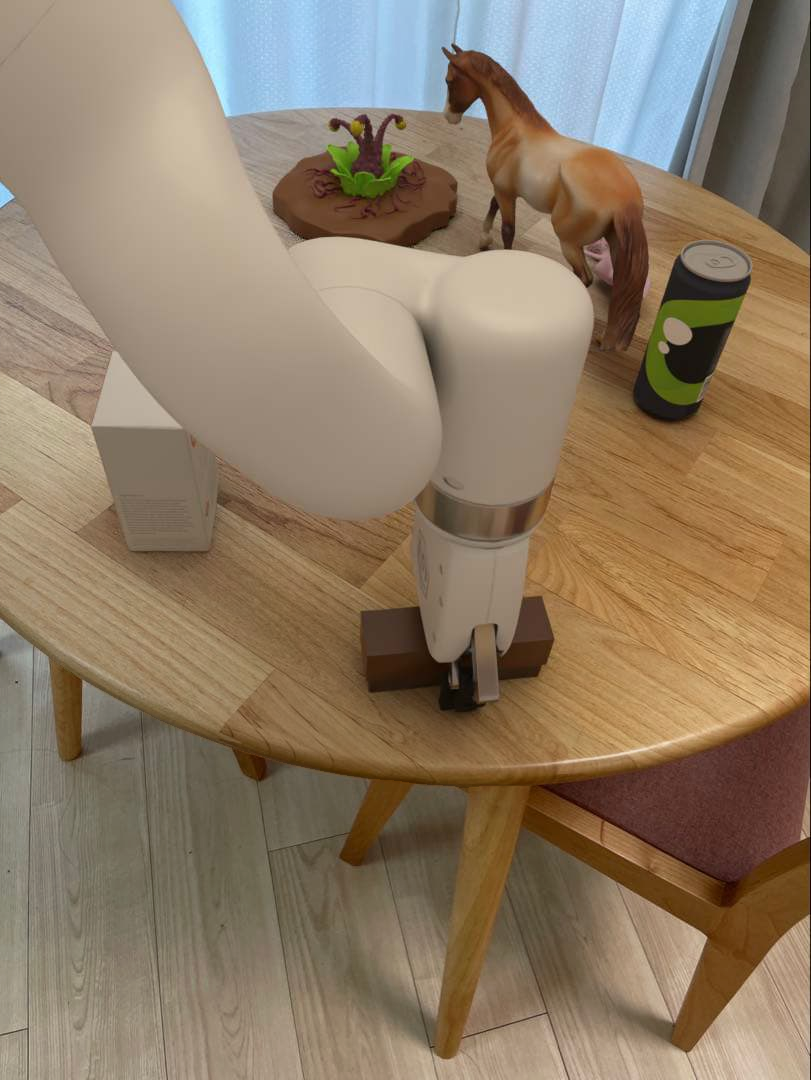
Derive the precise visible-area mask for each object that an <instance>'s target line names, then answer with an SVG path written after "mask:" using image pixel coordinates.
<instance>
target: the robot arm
mask: <svg viewBox="0 0 811 1080" xmlns="http://www.w3.org/2000/svg"><path fill="white" fill-rule="evenodd" d="M0 184H1V185H3V186H4V187H5V189H6V190H7V191H9V192H10V194H11V195H12V196H13V197H14V198H15V200H17V202H18V203H19V204H20V206H21V207H22V208H23V210H24V212H25V213H26V215H27V216H28V218H29V219H30V220H31V222H32V224H33V226H34V227H35V229H36V231H37V233H38V235H39V236H40V238H41V240H42V242H43V244H44V246H45V247H46V249H47V250H48V252H49V255H50V256H51V258H52V260H53V261H54V262H55V264H56V266H57V267H58V269H59V270H60V272H61V273H62V275H63V276H64V278H65V279H66V280H67V282H68V283H69V285H70V286H71V288H72V290H73V291H74V292H75V294H76V295H77V297H78V298H79V299H80V300H81V302H82V304H83V305H84V306H85V308H86V309H87V310H88V312H89V313H90V315H91V316H92V317H93V319H94V320H95V322H96V323H97V325H99V328H100V329H101V330H102V332H103V334H104V336H106V337H107V340H108V341H109V342H110V344H111V345H112V347H113V348H114V349H115V351H117V352H118V354H119V355H120V356H121V358H122V359H123V361H124V362H125V363H126V365H127V366H128V367H129V368H130V370H131V371H132V372H133V374H134V375H135V376H136V378H137V379H138V380H139V382H140V383H141V384H142V385H143V386H144V388H145V389H146V390H147V391H148V392H149V393H150V394H151V396H152V397H153V398H154V399H155V400H156V401H157V403H158V404H159V405H160V406H161V407H162V408H163V409H164V410H165V411H166V412H167V413H168V414H169V415H170V416H171V417H172V418H173V419H174V420H175V421H176V422H177V423H178V424H179V425H180V426H182V427H183V428H184V429H185V430H186V431H187V432H188V433H190V434H191V435H192V436H193V437H194V438H195V439H197V440H198V441H199V442H200V443H202V444H203V445H204V446H205V447H207V448H208V449H209V450H211V451H212V452H213V453H215V454H216V457H219V458H220V459H222V460H223V461H224V462H225V463H227V464H228V465H229V466H230V467H232V468H233V469H235V470H236V471H238V473H240V474H241V475H243V476H244V477H245V478H247V479H248V480H250V481H251V482H253V483H254V484H255V485H257V486H258V487H260V488H261V489H262V490H264V491H266V492H267V493H268V494H270V495H272V497H276V498H277V499H279V500H280V501H282V502H284V503H286V504H288V505H290V506H292V507H294V508H296V509H298V510H299V511H303V512H306V513H309V514H311V515H314V516H317V517H322V518H326V519H331V520H335V521H347V522H355V521H369V520H375V519H378V518H382V517H386V516H388V515H390V514H393V513H394V512H397V511H399V510H401V509H402V508H404V507H405V506H407V505H408V504H410V503H411V502H413V506H414V513H413V514H414V516H413V521H412V528H411V536H410V542H409V543H410V544H409V545H410V546H409V550H410V561H411V567H412V573H413V574H412V575H413V579H414V584H415V591H416V595H417V601H418V606H419V607H420V612H421V617H422V622H423V627H424V632H425V636H426V641H427V645H428V649H429V652H430V654H431V656H432V657H433V658H434V659H435V660H436V661H437V662H439V663H445V662H448V671H446V672H445V673H443V675H442V682H441V686H440V689H439V695H438V701H437V703H438V708H439V710H440V711H441V712H447V711H455V712H456V713H459V714H462V713H471V712H474V711H476V710H477V709H479V708H483V707H485V706H486V705H487V704H490V703H491V704H492V703H499V702H500V686H499V684H500V683H499V680H498V670H497V656H496V654H499V656H500V657H502V656H503V655H504V654H505V653H506V652H507V650H508V649H509V647H510V645H511V642H512V640H513V637H514V634H515V630H516V626H517V622H518V618H519V613H520V608H521V602H522V597H524V596H523V595H524V591H525V590H524V589H525V583H526V576H527V569H528V561H529V551H530V544H531V543H530V542H531V535H532V534H533V533H535V532H536V531H537V529H539V527H540V526H541V525H542V523H543V521H544V519H545V516H546V514H547V509H548V506H549V503H550V499H551V494H552V490H553V487H554V482H555V479H556V477H557V476H556V475H557V472H558V471H557V470H558V466H559V463H560V459H561V454H562V451H563V447H564V443H565V439H566V436H567V432H568V428H569V424H570V420H571V417H572V413H573V409H574V405H575V403H576V402H575V401H576V398H577V394H578V391H579V386H580V382H581V380H582V375H583V371H584V368H585V364H586V360H587V356H588V353H589V349H590V345H591V341H592V336H593V331H594V325H595V311H594V305H593V299H592V297H591V295H590V292H589V291H588V288H586V287H585V285H584V284H583V283H582V281H581V280H580V279H579V278H578V277H577V276H576V275H575V274H574V271H572V270H571V269H569V268H567V266H564V265H563V264H562V263H560V262H558V261H556V260H554V259H552V258H549V257H547V256H544V255H541V254H538V253H535V252H530V251H525V250H520V249H519V250H517V249H512V250H504V249H491V250H486V251H485V250H484V251H481V252H477V253H474V254H471V255H467V256H460V255H452V254H445V253H438V252H433V251H428V250H422V249H416V248H413V247H412V248H411V247H402V246H397V245H392V244H387V243H382V242H377V241H371V240H365V239H359V238H349V237H322V238H316V239H311V240H308V239H306V240H304V241H302V242H299V243H297V244H294V245H293V246H291V247H289V248H287V247H286V244H285V243H284V241H283V240H282V238H281V237H280V234H278V233H279V232H277V229H276V228H275V226H274V223H273V222H272V220H271V218H270V216H269V215H268V213H267V211H266V209H265V207H264V205H263V204H262V202H261V200H260V198H259V196H258V194H257V192H256V190H255V188H254V185H253V183H252V180H251V179H250V177H249V174H248V172H247V169H246V167H245V164H244V162H243V159H242V157H241V154H240V153H239V150H238V146H237V144H236V142H235V139H234V136H233V133H232V130H231V128H230V125H229V123H228V119H227V117H226V114H225V111H224V107H223V105H222V102H221V100H220V97H219V93H218V91H217V88H216V85H215V84H214V81H213V78H212V76H211V73H210V71H209V69H208V67H207V65H206V62H205V60H204V58H203V56H202V53H201V51H200V48H199V47H198V46H197V43H196V41H195V40H194V37H193V35H192V34H191V32H190V30H189V28H188V26H187V25H186V22H185V21H184V19H183V17H182V15H181V14H180V12H179V11H178V10H177V8H176V6H175V5H174V3H173V2H172V1H171V0H0ZM462 655H472V663H473V666H464V667H460V656H462Z"/></svg>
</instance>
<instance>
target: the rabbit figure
mask: <svg viewBox="0 0 811 1080" xmlns="http://www.w3.org/2000/svg"><path fill="white" fill-rule="evenodd" d="M583 250H584V254H585V257H589V258H592V259H594V260H597V261H599V262H598V263H596V264H595V266H594V268H593V272H594V275H596V277H598V278H599V279H600V280H602V281H603V282H604V283H606V284H607V285H610V286H612V287H613V268H612V263H611V257H610V250H609V245H608V243H607V241H606V240H605V239H604V237H603V238H601V239H600V240H599V241H597V242H595V243H592V244H589V245H586V249H584V248H583ZM651 285H652V281H651V277H650V275H649V274H648V276H647V279H646V284H645V287H644V292H643V299H642V300H644V299H645V298H647V296H648V295H649V292H650V288H651Z"/></svg>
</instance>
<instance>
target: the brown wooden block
mask: <svg viewBox="0 0 811 1080" xmlns="http://www.w3.org/2000/svg"><path fill="white" fill-rule="evenodd" d="M359 622H360V623H359V625H360V626H359V627H360V629H359V640H360V649H361V655H362V663H363V669H364V670H363V671H364V678H365V682H366V683H367V689H368V693H369V694H370V693H371V694H372V693H380V692H393V691H402V690H410V689H411V690H412V689H423V688H430V687H432V688H433V687H441V682H442V675H443V673H445V672H446V671H448V662H445V663H439V662H437V661H436V660H435V659H434V658H433V657H432V656H431V654H430V652H429V649H428V645H427V641H426V636H425V632H424V627H423V622H422V617H421V612H420V607H419V605H417V606H406V607H405V606H404V607H393V608H383V609H381V608H380V609H371V610H361V611H360V621H359ZM554 642H555V634H554V630H553V628H552V625H551V622H550V619H549V615H548V612H547V608H546V604H545V602H544V598H543V596H542V595H533V596H523V597H522V602H521V608H520V613H519V618H518V622H517V626H516V630H515V634H514V637H513V640H512V642H511V645H510V647H509V649H508V650H507V652H506V653H505V654H504V655H503V656H502V657H500V656H499V654H496V656H497V670H498V681H503V680H513V679H522V678H533V677H534V678H535V677H539V676H540V672H541V669H542V666H547V664H548V661H549V658H550V654H551V652H552V649H553V646H554ZM464 666H473V663H472V655H462V656H460V667H464Z"/></svg>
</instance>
